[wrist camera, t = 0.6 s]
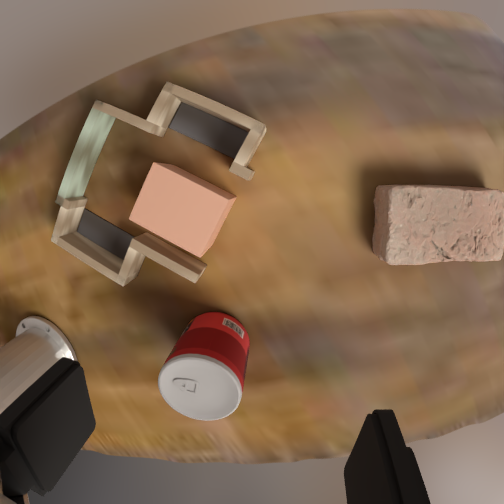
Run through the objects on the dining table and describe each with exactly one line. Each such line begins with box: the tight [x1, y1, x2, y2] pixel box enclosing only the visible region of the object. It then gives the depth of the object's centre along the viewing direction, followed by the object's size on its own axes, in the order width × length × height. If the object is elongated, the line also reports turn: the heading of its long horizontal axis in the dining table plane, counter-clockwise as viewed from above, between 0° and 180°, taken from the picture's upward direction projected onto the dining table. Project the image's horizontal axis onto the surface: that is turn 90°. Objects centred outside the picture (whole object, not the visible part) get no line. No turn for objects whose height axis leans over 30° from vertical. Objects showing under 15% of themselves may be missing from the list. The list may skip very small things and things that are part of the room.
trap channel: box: [51, 82, 266, 286], centre depth 33 cm, size 22×19×4 cm
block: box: [129, 162, 236, 258], centre depth 32 cm, size 6×8×6 cm
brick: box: [372, 184, 504, 265], centre depth 31 cm, size 16×8×5 cm, turn 93°
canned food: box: [158, 312, 250, 421], centre depth 33 cm, size 8×8×11 cm
